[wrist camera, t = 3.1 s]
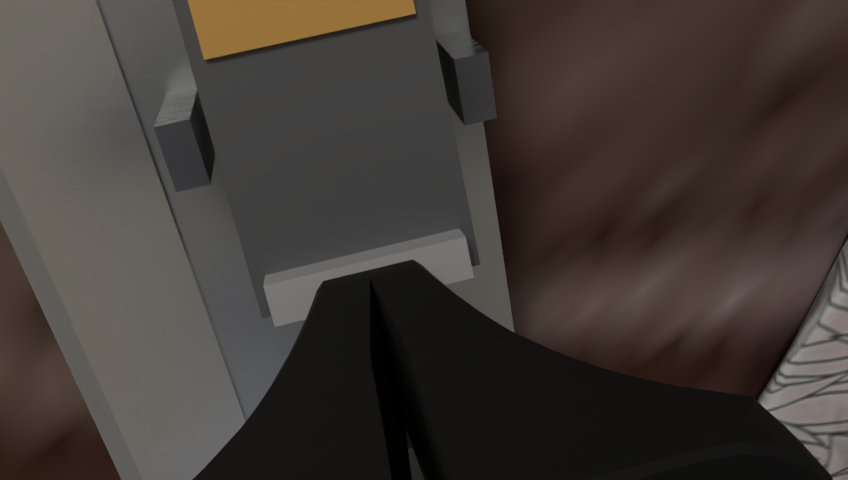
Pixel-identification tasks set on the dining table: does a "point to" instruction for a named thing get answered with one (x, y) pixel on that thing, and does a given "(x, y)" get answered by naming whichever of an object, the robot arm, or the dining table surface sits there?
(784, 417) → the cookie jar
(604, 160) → the dining table surface
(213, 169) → the power strip
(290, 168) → the rocker
